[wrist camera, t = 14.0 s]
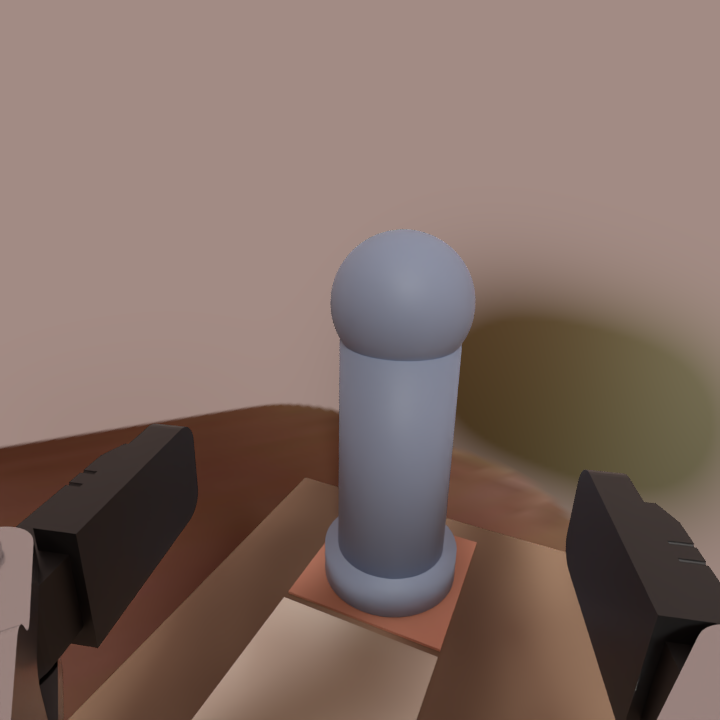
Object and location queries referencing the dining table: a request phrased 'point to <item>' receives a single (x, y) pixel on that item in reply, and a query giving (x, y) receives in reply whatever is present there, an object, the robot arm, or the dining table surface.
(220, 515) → the dining table surface
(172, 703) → the game board
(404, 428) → the pawn
